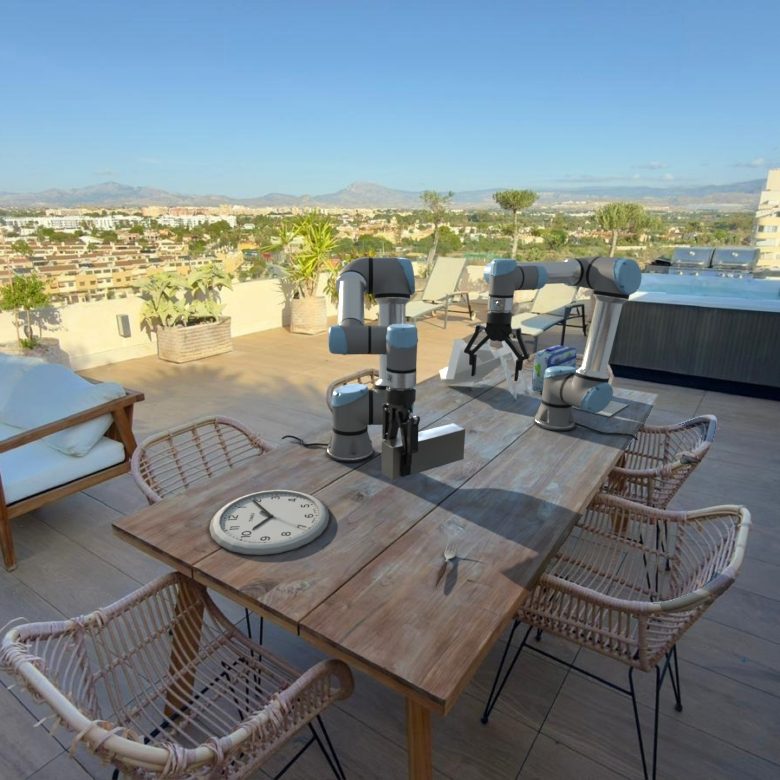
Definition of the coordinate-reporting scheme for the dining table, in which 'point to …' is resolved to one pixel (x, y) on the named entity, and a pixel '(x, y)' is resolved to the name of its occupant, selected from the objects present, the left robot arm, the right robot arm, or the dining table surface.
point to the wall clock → (269, 522)
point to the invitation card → (611, 408)
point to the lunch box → (551, 363)
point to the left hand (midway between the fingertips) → (398, 470)
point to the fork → (448, 555)
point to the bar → (425, 450)
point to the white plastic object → (480, 365)
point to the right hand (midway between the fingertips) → (494, 377)
